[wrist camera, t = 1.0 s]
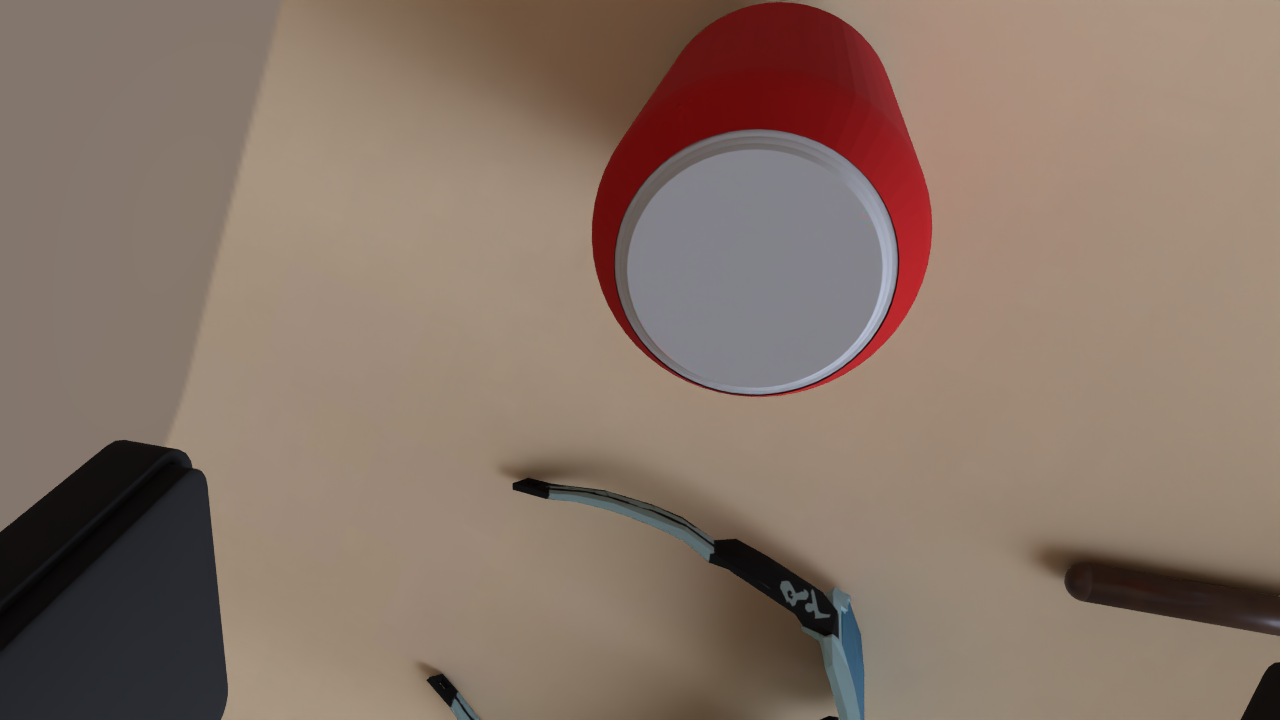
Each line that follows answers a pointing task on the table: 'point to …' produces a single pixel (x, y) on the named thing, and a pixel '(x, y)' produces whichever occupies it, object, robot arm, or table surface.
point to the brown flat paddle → (1174, 597)
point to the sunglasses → (814, 610)
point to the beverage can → (765, 207)
